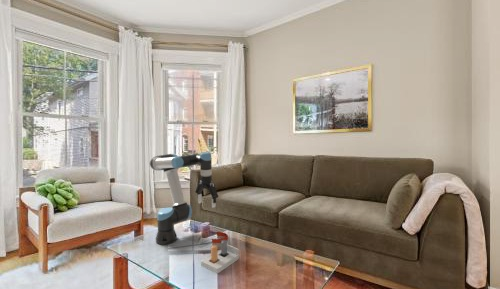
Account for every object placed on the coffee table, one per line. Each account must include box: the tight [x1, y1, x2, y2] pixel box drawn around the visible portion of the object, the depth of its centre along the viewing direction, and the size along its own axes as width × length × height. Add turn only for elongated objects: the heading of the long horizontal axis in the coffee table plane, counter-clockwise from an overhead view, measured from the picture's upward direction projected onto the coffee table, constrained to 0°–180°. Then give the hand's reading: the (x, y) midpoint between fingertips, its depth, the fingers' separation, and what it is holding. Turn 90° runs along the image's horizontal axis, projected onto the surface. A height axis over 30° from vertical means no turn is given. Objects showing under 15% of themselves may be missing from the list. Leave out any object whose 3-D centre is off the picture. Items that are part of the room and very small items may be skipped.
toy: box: [211, 231, 229, 251], centre depth 188 cm, size 12×10×8 cm
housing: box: [200, 244, 240, 274], centre depth 169 cm, size 14×20×7 cm
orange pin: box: [210, 245, 218, 264], centre depth 166 cm, size 4×4×12 cm
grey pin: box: [221, 240, 227, 257], centre depth 173 cm, size 4×4×12 cm
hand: (206, 205), depth 182 cm, fingers open, 13 cm apart
